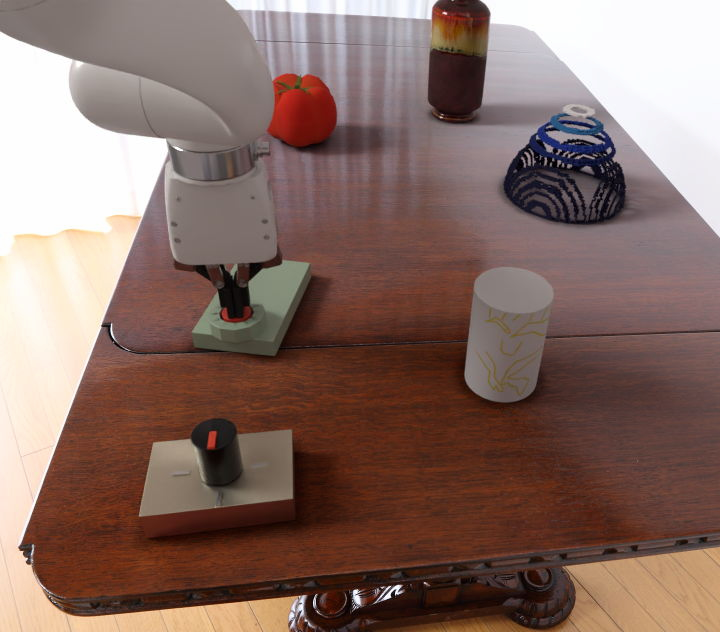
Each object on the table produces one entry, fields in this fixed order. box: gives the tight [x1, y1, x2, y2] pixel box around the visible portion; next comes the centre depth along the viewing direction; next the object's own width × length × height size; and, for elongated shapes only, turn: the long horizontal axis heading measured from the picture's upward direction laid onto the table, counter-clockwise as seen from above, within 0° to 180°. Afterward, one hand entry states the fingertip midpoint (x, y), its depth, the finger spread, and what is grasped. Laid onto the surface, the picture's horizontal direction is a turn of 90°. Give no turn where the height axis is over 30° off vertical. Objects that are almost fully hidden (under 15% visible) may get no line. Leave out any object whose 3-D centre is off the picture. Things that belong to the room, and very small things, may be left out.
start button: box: [222, 306, 252, 323], centre depth 75 cm, size 3×3×2 cm
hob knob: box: [190, 417, 243, 485], centre depth 57 cm, size 4×4×5 cm
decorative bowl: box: [502, 103, 627, 225], centre depth 110 cm, size 20×20×14 cm
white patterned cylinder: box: [464, 266, 555, 403], centre depth 73 cm, size 8×8×12 cm
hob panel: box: [138, 428, 296, 540], centre depth 60 cm, size 12×8×3 cm, turn 103°
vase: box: [427, 0, 492, 124], centre depth 130 cm, size 11×11×26 cm
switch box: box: [191, 259, 312, 357], centre depth 80 cm, size 17×9×4 cm, turn 177°
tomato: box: [266, 73, 338, 148], centre depth 119 cm, size 14×13×10 cm
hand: (236, 310), depth 75 cm, fingers closed
